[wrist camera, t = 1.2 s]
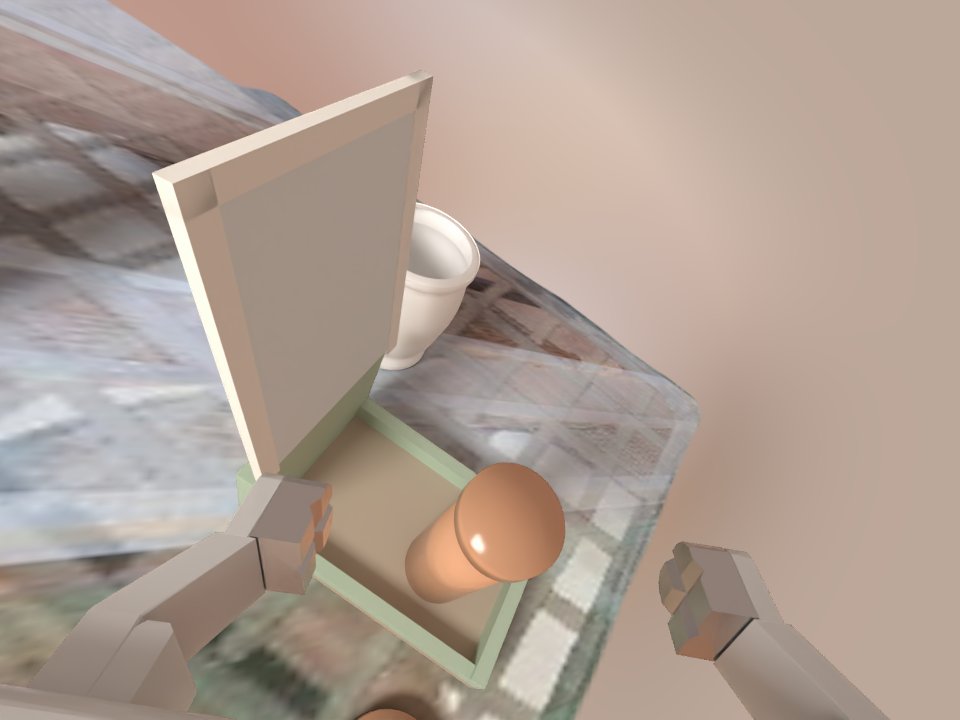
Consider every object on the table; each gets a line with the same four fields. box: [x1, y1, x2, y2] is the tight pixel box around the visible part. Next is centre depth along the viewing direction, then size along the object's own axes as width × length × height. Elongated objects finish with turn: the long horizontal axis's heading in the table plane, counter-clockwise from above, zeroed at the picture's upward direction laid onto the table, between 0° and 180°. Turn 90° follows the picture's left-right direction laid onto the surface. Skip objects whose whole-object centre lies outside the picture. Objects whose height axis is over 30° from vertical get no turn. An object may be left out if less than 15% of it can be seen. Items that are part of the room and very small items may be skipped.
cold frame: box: [236, 353, 528, 689], centre depth 36 cm, size 22×14×12 cm, turn 61°
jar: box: [380, 202, 480, 370], centre depth 45 cm, size 11×10×15 cm
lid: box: [152, 70, 433, 481], centre depth 23 cm, size 19×14×1 cm
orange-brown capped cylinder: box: [405, 463, 565, 604], centre depth 33 cm, size 7×7×15 cm
